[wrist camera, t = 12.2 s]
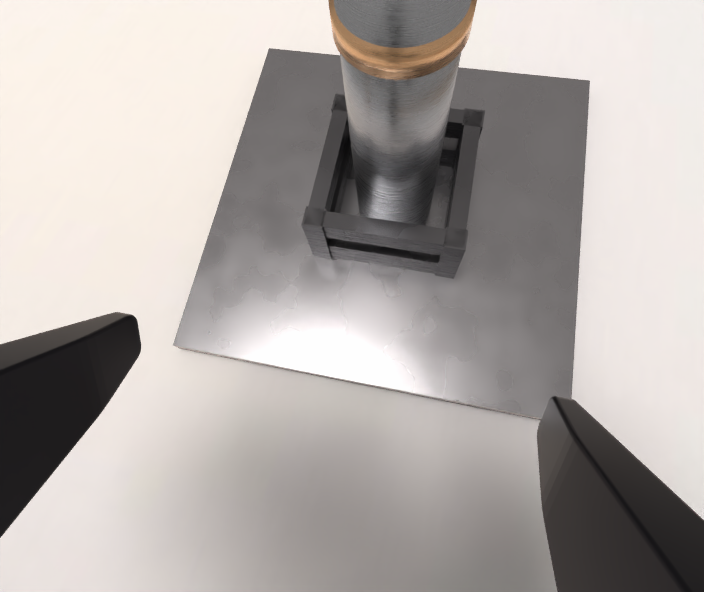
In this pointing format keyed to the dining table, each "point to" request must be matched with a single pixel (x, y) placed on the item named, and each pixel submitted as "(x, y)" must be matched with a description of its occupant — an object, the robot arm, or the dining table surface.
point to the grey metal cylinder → (398, 96)
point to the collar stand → (402, 244)
